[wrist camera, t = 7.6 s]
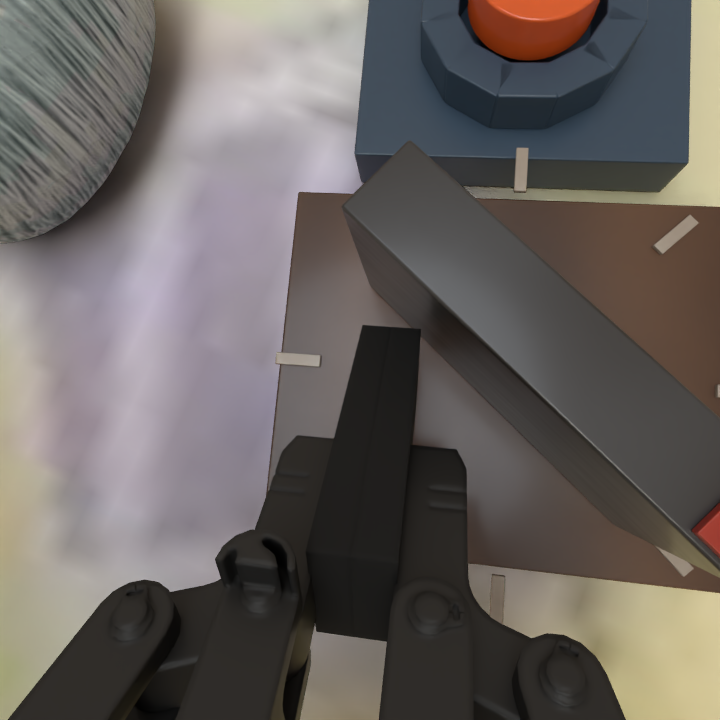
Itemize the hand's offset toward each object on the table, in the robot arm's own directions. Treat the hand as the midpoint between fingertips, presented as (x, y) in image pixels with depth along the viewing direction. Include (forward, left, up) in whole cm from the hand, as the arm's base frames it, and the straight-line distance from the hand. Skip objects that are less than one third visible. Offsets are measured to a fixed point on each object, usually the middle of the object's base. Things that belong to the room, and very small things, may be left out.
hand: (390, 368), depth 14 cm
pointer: (+3, 0, -2) cm, 4 cm away
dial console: (+3, 0, -5) cm, 6 cm away
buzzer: (+3, +12, -5) cm, 14 cm away
